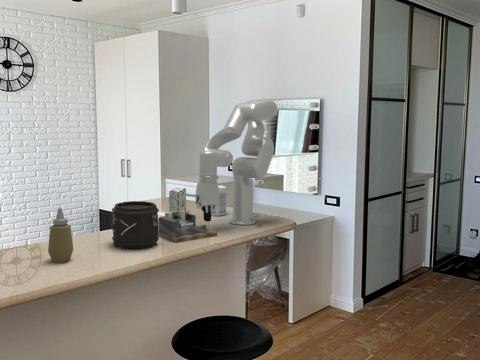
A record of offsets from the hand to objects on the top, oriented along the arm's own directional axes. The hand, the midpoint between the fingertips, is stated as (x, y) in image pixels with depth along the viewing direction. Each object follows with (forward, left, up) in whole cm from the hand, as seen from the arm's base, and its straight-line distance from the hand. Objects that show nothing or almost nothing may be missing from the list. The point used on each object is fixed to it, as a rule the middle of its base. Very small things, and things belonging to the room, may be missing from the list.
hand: (207, 220), depth 206 cm
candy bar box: (+3, -20, -5) cm, 21 cm away
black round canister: (+36, +1, -5) cm, 36 cm away
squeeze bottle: (+66, +6, -5) cm, 66 cm away
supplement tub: (-26, -28, -5) cm, 39 cm away
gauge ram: (+12, -1, -3) cm, 12 cm away
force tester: (+11, 0, -5) cm, 12 cm away
